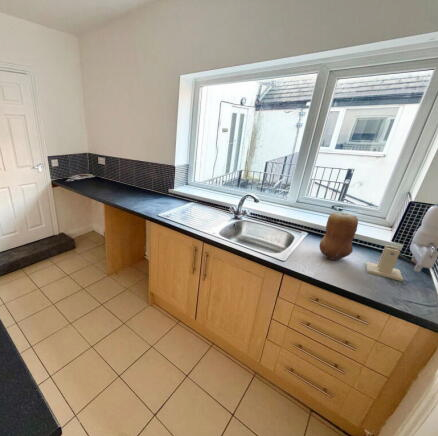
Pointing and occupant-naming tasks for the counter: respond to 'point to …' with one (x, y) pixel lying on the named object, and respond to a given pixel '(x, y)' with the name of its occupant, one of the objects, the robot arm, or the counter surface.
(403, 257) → the lever
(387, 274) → the stand
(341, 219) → the butternut squash
